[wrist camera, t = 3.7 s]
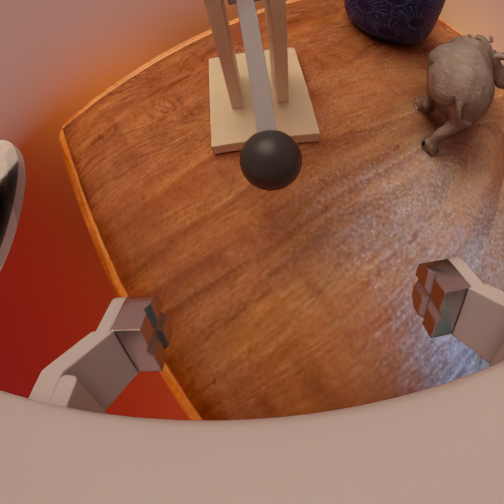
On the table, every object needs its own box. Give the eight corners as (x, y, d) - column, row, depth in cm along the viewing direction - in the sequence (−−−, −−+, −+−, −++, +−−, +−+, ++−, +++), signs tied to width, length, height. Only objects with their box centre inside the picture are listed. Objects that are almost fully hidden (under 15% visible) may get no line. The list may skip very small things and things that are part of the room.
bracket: (319, 141, 24) (336, -12, 10) (214, 154, 25) (155, 11, 11) (294, 55, 27) (290, -64, 13) (210, 66, 28) (175, -48, 14)
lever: (301, 184, 19) (309, 189, 16) (246, 191, 19) (242, 197, 16) (265, -23, 15) (265, -50, 11) (215, -17, 15) (207, -43, 12)
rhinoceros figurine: (363, 96, 22) (465, -16, 11) (406, 103, 31) (478, 29, 19) (425, 165, 21) (541, 56, 9) (448, 152, 29) (525, 80, 18)
